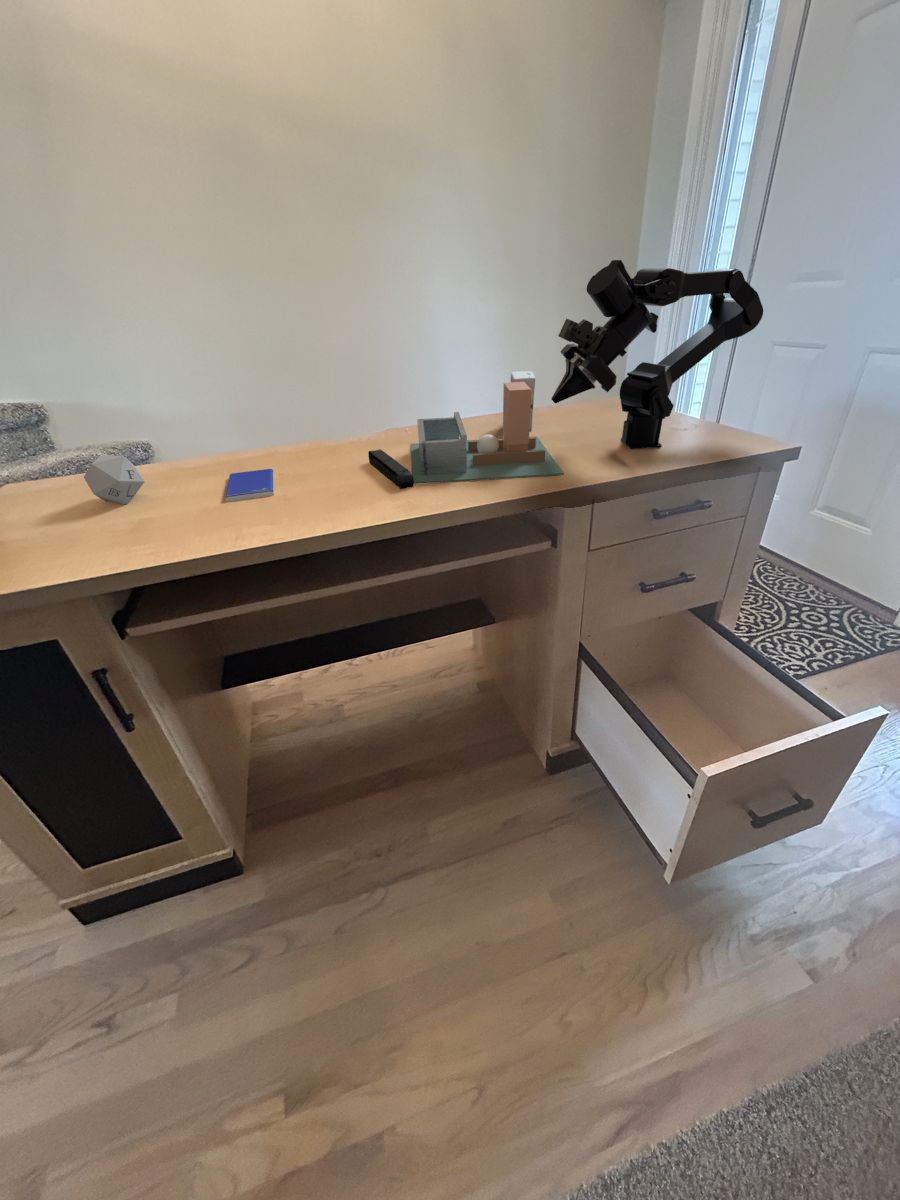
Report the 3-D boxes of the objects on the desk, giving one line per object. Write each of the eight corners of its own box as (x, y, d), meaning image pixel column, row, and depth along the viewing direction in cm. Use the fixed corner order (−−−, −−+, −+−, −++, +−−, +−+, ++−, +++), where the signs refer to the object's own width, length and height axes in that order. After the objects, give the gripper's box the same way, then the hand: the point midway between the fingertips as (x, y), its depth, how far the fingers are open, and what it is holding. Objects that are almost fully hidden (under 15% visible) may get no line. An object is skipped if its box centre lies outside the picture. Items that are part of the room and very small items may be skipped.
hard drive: (273, 489, 94) (272, 468, 104) (224, 495, 92) (228, 473, 102) (274, 497, 95) (274, 475, 105) (226, 504, 93) (231, 481, 103)
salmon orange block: (521, 448, 110) (524, 381, 103) (528, 459, 104) (531, 389, 97) (502, 449, 110) (503, 382, 103) (508, 460, 104) (509, 390, 97)
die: (99, 517, 90) (119, 470, 87) (66, 486, 92) (84, 439, 88) (141, 515, 98) (160, 472, 95) (110, 487, 99) (128, 443, 96)
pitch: (536, 437, 117) (537, 427, 116) (563, 474, 97) (564, 462, 96) (410, 445, 116) (410, 434, 115) (411, 484, 96) (410, 471, 95)
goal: (459, 445, 114) (458, 411, 110) (467, 472, 99) (466, 435, 96) (419, 447, 113) (416, 414, 110) (421, 475, 99) (418, 437, 95)
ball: (497, 452, 109) (497, 431, 106) (500, 459, 105) (500, 437, 103) (475, 453, 108) (475, 432, 106) (478, 460, 105) (478, 438, 102)
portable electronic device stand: (414, 489, 95) (413, 473, 93) (401, 492, 94) (400, 475, 92) (380, 461, 109) (378, 447, 107) (368, 464, 108) (366, 449, 106)
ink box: (508, 423, 129) (509, 371, 122) (529, 422, 128) (531, 370, 122) (511, 433, 121) (512, 378, 115) (533, 432, 121) (535, 377, 115)
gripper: (574, 296, 101) (515, 363, 106) (606, 304, 85) (535, 381, 91) (610, 340, 105) (552, 401, 111) (646, 354, 90) (576, 425, 95)
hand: (553, 401), depth 102 cm, fingers closed
